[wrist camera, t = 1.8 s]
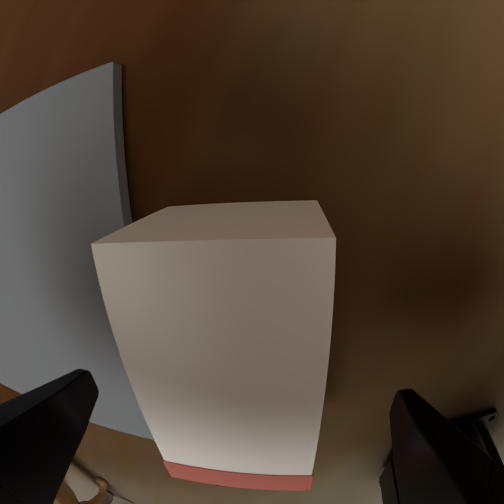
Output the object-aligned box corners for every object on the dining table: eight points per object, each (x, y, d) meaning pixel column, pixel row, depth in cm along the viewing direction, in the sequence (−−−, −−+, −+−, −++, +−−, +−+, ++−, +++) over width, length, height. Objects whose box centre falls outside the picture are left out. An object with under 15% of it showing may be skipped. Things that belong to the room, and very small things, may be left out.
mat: (121, 65, 9) (113, 61, 8) (186, 438, 14) (183, 445, 14) (-61, 161, 11) (-67, 163, 11) (-1, 376, 17) (-5, 380, 16)
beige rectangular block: (318, 199, 9) (339, 238, 5) (310, 405, 12) (310, 490, 8) (167, 206, 10) (87, 244, 6) (200, 399, 13) (171, 476, 9)
